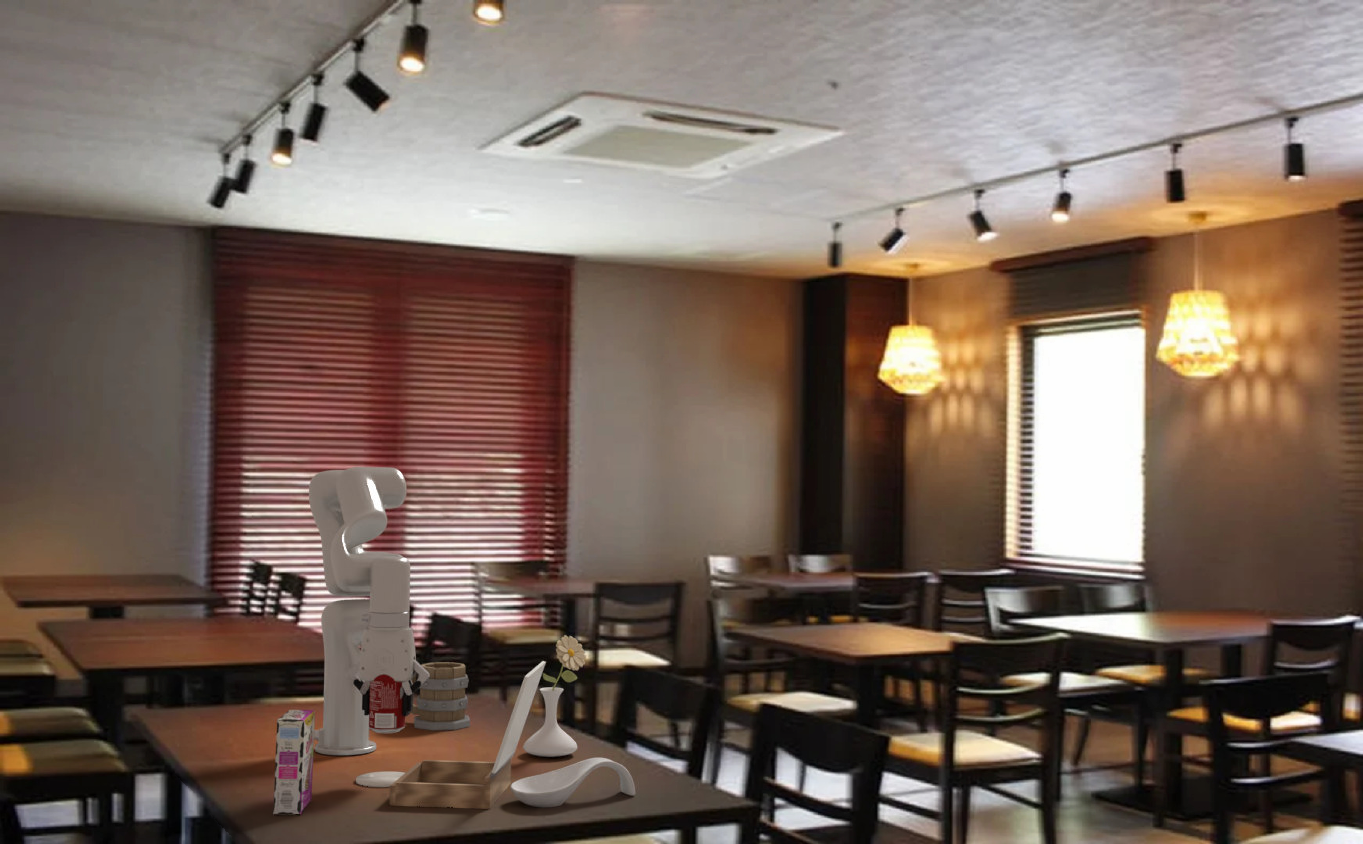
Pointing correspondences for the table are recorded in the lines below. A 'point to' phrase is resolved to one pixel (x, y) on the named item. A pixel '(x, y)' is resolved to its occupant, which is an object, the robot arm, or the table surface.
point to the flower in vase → (551, 735)
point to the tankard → (442, 698)
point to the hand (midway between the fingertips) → (387, 714)
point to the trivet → (378, 779)
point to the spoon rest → (565, 783)
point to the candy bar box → (294, 761)
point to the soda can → (386, 705)
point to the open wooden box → (450, 785)
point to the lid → (518, 718)
